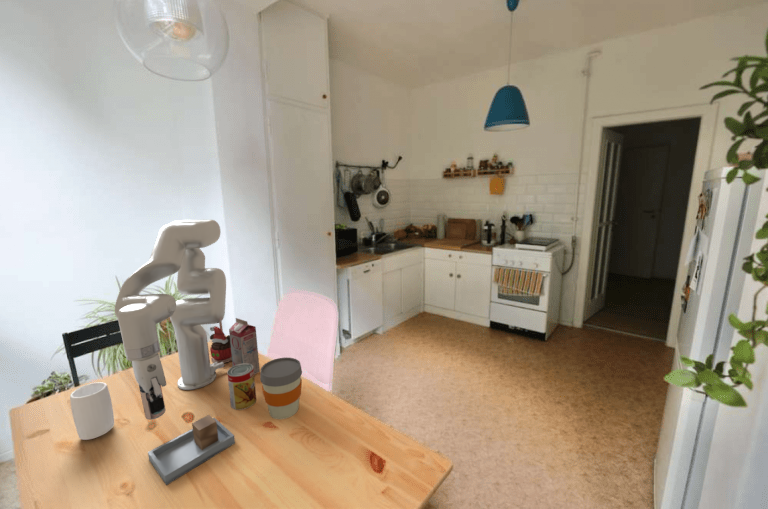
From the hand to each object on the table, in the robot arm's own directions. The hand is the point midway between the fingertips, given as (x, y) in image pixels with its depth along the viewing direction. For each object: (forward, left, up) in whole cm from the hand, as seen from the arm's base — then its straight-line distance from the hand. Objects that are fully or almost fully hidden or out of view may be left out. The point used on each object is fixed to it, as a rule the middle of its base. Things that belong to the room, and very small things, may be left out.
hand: (154, 405), depth 94 cm
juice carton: (-33, -11, -10) cm, 36 cm away
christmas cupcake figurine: (-33, -29, -10) cm, 45 cm away
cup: (+11, -15, -10) cm, 21 cm away
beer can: (0, 0, -3) cm, 3 cm away
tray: (-4, +15, -9) cm, 18 cm away
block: (-7, +15, -9) cm, 18 cm away
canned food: (-23, +5, -10) cm, 25 cm away
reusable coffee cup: (-29, +19, -10) cm, 36 cm away
